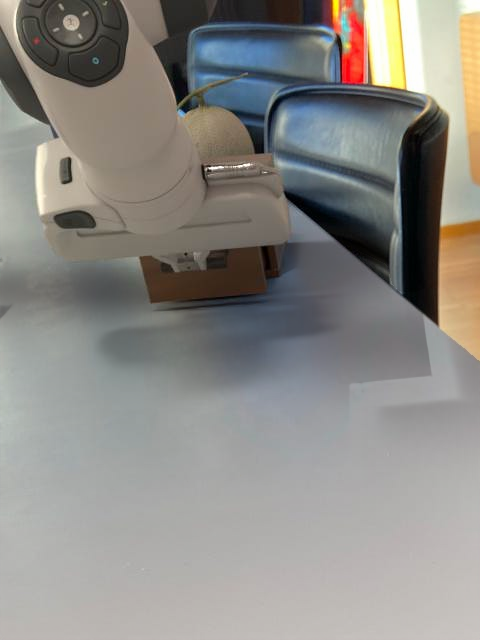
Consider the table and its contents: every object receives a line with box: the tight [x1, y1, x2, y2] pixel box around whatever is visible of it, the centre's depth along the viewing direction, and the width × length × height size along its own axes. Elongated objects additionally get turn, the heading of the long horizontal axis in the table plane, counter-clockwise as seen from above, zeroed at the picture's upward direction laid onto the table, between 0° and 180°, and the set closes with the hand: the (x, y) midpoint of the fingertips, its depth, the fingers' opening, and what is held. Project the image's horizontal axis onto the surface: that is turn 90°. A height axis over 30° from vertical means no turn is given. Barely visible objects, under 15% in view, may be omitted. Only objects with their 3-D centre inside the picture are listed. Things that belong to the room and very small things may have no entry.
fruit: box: [177, 72, 256, 159], centre depth 132 cm, size 10×12×15 cm
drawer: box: [138, 246, 268, 304], centre depth 101 cm, size 17×11×8 cm
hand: (190, 264), depth 94 cm, fingers closed, pressing on drawer
